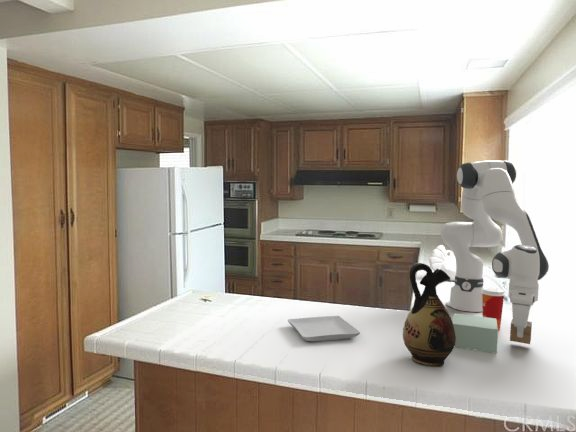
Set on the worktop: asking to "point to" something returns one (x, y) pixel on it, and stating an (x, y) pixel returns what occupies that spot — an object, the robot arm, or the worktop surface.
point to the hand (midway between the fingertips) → (520, 333)
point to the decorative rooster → (443, 261)
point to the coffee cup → (493, 304)
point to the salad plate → (323, 328)
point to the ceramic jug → (428, 320)
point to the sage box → (475, 332)
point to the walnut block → (526, 333)
